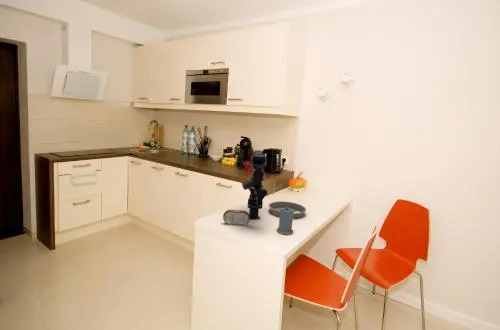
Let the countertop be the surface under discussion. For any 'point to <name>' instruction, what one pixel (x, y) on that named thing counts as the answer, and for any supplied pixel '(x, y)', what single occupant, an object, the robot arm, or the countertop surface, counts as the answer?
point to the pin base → (284, 233)
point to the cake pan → (279, 205)
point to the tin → (236, 217)
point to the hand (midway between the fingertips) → (255, 203)
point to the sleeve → (286, 219)
